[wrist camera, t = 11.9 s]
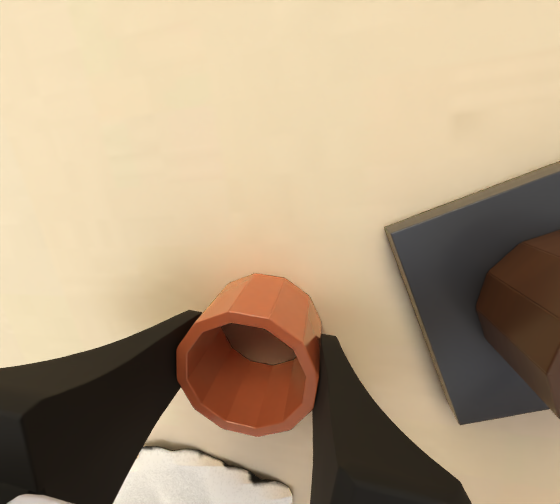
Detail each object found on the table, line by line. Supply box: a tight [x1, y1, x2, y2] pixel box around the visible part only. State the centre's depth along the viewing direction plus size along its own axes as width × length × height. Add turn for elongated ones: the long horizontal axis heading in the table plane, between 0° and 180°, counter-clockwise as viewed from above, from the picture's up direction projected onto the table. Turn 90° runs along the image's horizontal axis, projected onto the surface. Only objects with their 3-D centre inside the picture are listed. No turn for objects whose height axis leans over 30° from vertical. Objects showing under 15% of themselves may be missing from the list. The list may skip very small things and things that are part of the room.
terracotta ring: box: [176, 274, 321, 437], centre depth 12 cm, size 5×5×4 cm
